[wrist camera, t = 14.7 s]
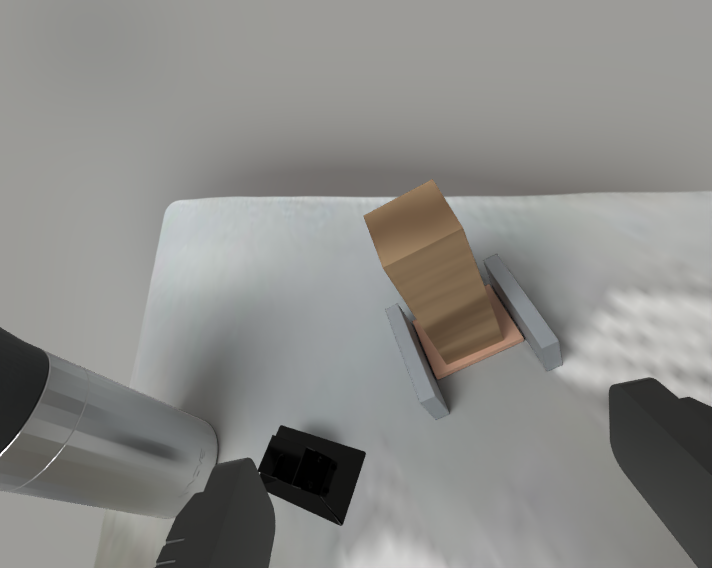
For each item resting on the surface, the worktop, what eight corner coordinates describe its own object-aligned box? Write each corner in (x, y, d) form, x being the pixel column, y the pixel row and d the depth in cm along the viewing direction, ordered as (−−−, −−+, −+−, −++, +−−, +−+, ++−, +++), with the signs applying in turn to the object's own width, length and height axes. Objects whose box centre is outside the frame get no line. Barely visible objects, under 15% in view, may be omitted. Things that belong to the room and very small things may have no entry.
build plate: (242, 490, 37) (207, 481, 33) (276, 412, 40) (247, 396, 37) (358, 546, 30) (329, 540, 27) (388, 446, 33) (365, 430, 30)
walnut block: (504, 340, 33) (463, 227, 23) (446, 365, 34) (382, 267, 24) (478, 294, 36) (432, 179, 26) (426, 318, 37) (363, 215, 27)
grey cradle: (562, 364, 30) (558, 341, 28) (435, 419, 32) (420, 402, 29) (504, 280, 36) (496, 253, 34) (400, 330, 38) (385, 309, 35)
